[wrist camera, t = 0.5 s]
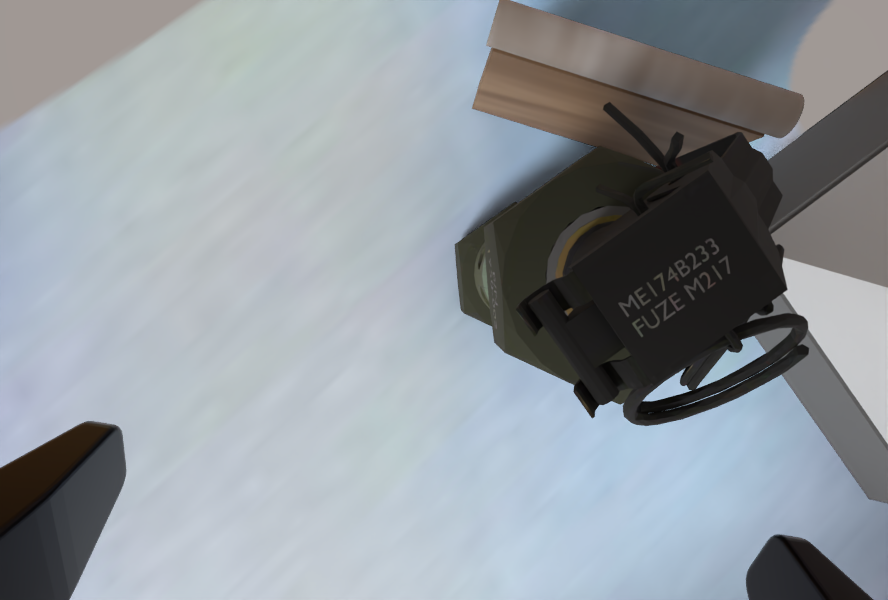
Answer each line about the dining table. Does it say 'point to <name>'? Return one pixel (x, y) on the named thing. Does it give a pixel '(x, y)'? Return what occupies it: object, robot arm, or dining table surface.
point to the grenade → (638, 275)
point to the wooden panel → (619, 87)
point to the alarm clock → (839, 278)
